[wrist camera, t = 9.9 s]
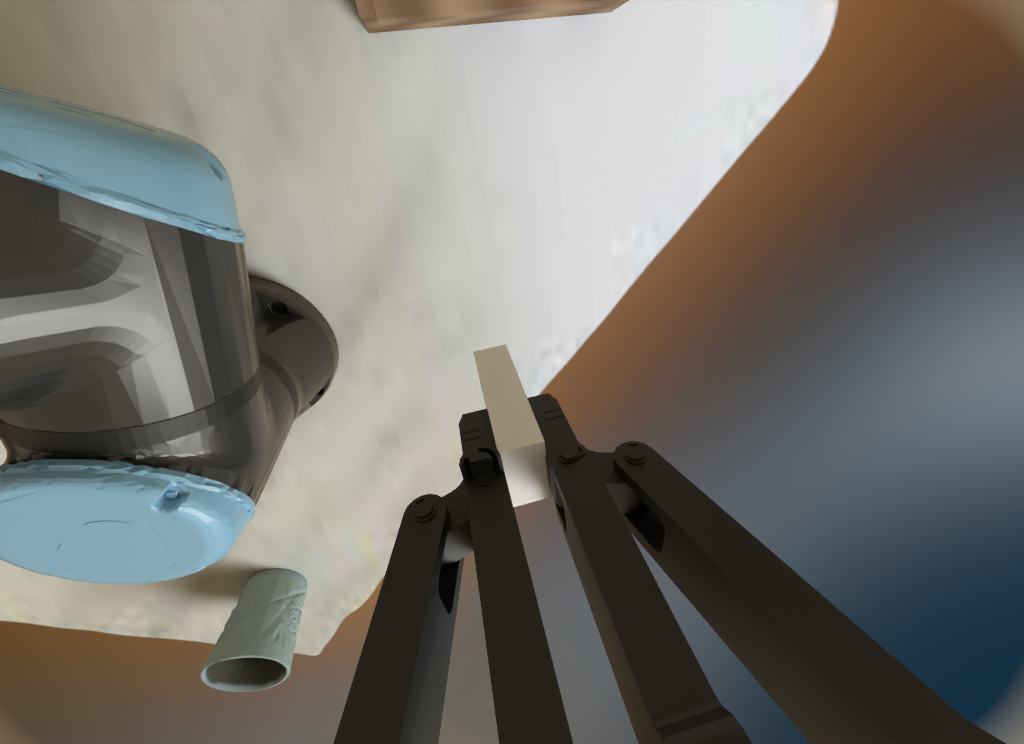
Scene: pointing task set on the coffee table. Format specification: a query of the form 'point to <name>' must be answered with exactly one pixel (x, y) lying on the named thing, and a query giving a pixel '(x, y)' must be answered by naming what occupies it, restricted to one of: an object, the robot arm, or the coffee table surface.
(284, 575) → the grey-blue cup
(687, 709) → the robot arm
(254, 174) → the coffee table surface
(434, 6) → the wooden tray
